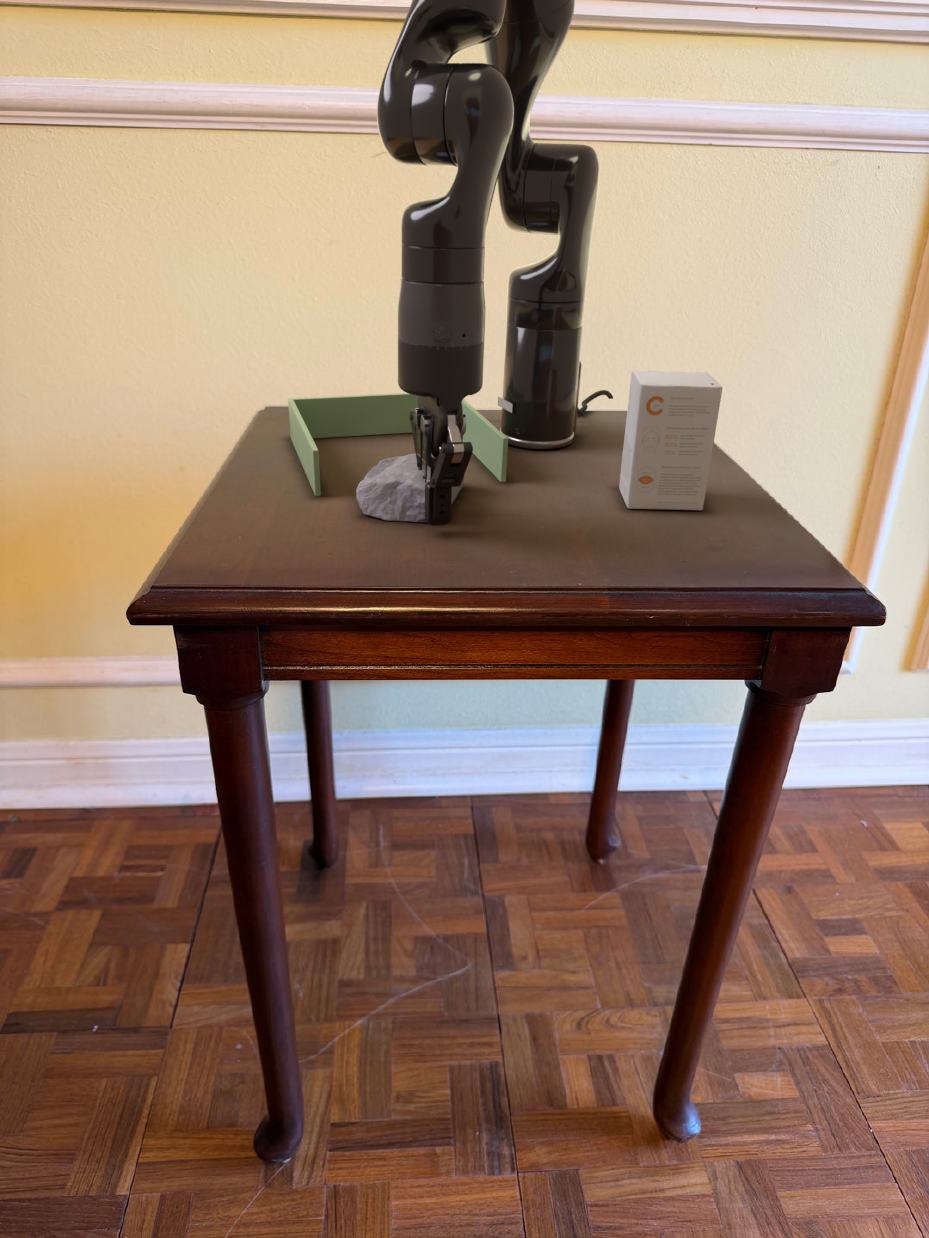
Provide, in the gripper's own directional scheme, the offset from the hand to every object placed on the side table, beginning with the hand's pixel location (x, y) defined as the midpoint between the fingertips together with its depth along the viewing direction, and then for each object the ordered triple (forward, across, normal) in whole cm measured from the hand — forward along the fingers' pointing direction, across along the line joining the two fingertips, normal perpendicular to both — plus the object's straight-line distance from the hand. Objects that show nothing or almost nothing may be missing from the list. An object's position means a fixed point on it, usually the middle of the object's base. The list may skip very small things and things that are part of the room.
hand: (437, 522), depth 84 cm
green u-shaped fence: (+1, +22, -1) cm, 23 cm away
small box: (+1, +3, -26) cm, 26 cm away
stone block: (+1, +9, +1) cm, 9 cm away
